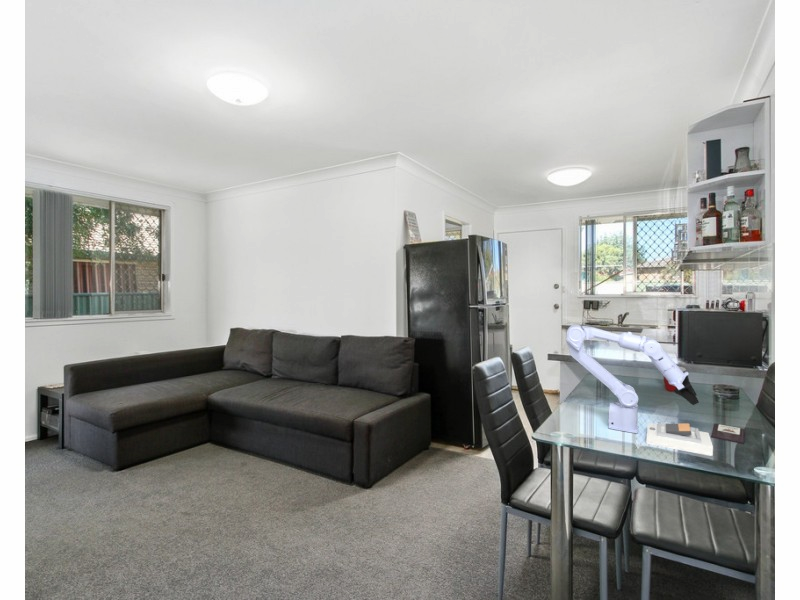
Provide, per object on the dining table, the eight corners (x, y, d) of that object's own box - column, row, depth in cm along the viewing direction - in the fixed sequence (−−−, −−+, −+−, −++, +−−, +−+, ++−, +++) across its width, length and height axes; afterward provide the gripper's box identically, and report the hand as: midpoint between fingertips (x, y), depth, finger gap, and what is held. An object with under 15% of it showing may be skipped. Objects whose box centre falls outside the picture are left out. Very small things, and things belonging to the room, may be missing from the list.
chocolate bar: (711, 436, 148) (714, 423, 162) (711, 438, 149) (714, 425, 162) (743, 442, 143) (744, 429, 156) (743, 445, 143) (744, 431, 157)
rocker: (667, 437, 141) (665, 430, 141) (666, 429, 149) (665, 423, 149) (692, 437, 137) (690, 430, 137) (690, 429, 145) (689, 423, 145)
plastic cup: (658, 390, 213) (659, 367, 212) (660, 386, 221) (661, 364, 221) (684, 394, 206) (685, 370, 206) (685, 390, 215) (686, 367, 214)
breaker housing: (646, 443, 142) (646, 431, 141) (647, 430, 154) (648, 419, 154) (712, 456, 132) (713, 443, 132) (708, 441, 145) (708, 429, 145)
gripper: (679, 367, 142) (708, 401, 139) (677, 356, 154) (703, 387, 151) (660, 377, 145) (688, 411, 142) (659, 366, 158) (684, 397, 155)
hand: (694, 399), depth 147 cm, fingers open, 7 cm apart
